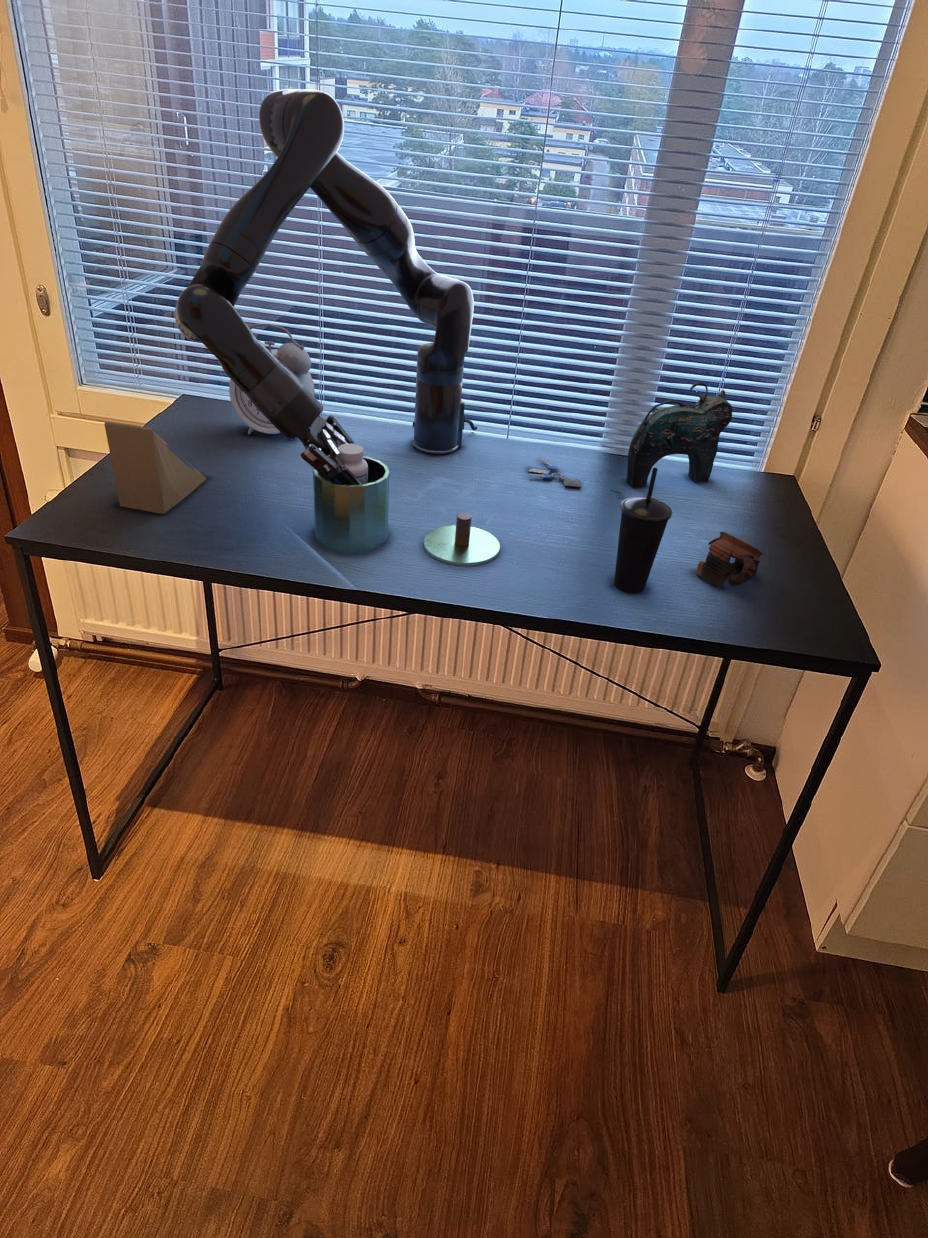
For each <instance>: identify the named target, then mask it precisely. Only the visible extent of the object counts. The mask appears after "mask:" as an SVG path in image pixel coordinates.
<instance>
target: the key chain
mask: <svg viewBox="0 0 928 1238" xmlns="http://www.w3.org/2000/svg"><path fill="white" fill-rule="evenodd" d="M540 459H541V460H542V461H543V462H544V463H545V464H546V468H547V470H545V469H539V468H533V467H532V468H530V469H529V472H530V473H528V476H529V477H540V478H543V479H556V480H557V479H558V480H561V481H563V486H565V487H572V488H573V487H574V488H581V487H582V484H581V480H580V479H577V478H569V477H566V476H564V475H563V474H562V470H561V469H560V468H559V467H558V466H555V465H552V464H551V463H550V462H549V461H547V460H546V459H545V458H544V457H540ZM552 470H553V471H557V470H558V471H560V472H553V473H550V471H552Z"/></svg>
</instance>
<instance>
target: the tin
mask: <svg viewBox="0 0 928 1238" xmlns="http://www.w3.org/2000/svg"><path fill="white" fill-rule="evenodd" d="M363 459H364V460H365V461H366V462H367V464H368V467H369V469H370V471H369V473H368V484H363V485H345V484H337V483H334V478H332V479H331V480H330V481H329V480H327V479H326V478H325V477H323V476H322V475H321V474H320V473H319V472H318V471H316V470H315V469H314V468H313V467H312V481H313V482H312V483H313V485H312V486H313V509H314V510H313V512H314V514H313V516H314V535H315V539H316V541H317V542H319V544H321V545H322V546H323V547H326V548H328V549H331V550H333V551H339V552H347V553H357V552H360V553H361V552H366V551H370V550H373V549H377V548H379V547H380V546H381V545H383V544H385V543H386V541H387V539H388V537H389V515H390V514H389V510H390V502H389V501H390V475H391V474H390V469H389V467H388V465H386V464H385V463H383V462H382V461H381V460H378V459H375V458H372V457H369V456H363ZM333 462H335V461H333ZM323 468H324V469H325V470H326V468H325V467H323ZM326 471H327V470H326ZM327 472H328V471H327Z"/></svg>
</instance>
